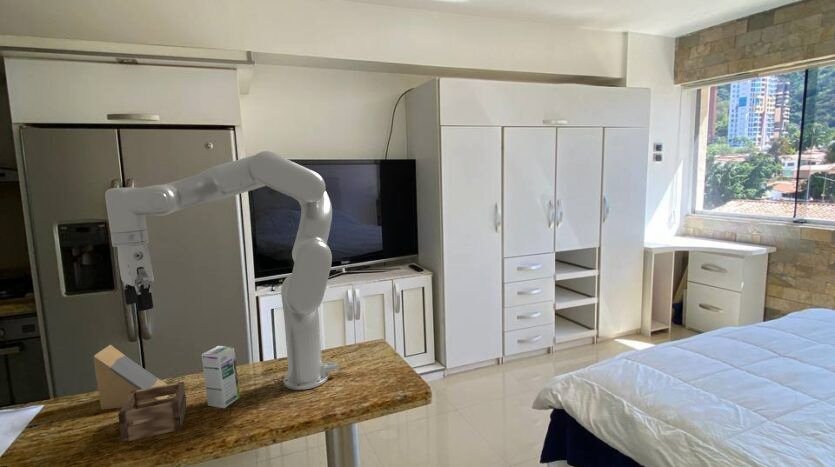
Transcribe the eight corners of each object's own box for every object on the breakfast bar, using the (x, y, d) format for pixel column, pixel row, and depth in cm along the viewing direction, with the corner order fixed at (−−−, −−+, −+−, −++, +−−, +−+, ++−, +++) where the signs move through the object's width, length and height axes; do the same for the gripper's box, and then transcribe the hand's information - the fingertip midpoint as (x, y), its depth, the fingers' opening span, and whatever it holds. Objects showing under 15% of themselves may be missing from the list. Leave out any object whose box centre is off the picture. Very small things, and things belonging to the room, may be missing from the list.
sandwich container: (163, 403, 118) (156, 349, 117) (100, 410, 116) (92, 356, 114) (174, 388, 127) (169, 338, 125) (116, 395, 124) (109, 343, 123)
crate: (186, 406, 116) (183, 381, 115) (181, 429, 105) (178, 402, 104) (133, 416, 112) (130, 391, 111) (122, 442, 101) (118, 414, 100)
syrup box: (224, 408, 114) (219, 355, 112) (206, 406, 116) (200, 352, 114) (240, 398, 119) (235, 346, 117) (222, 395, 121) (217, 344, 119)
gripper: (159, 238, 104) (168, 308, 107) (136, 234, 116) (145, 297, 118) (122, 243, 99) (132, 316, 101) (102, 238, 111) (112, 304, 113)
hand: (139, 306), depth 110 cm, fingers open, 9 cm apart
